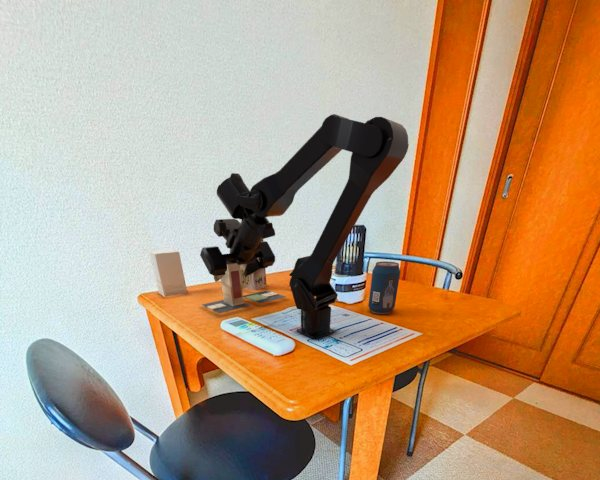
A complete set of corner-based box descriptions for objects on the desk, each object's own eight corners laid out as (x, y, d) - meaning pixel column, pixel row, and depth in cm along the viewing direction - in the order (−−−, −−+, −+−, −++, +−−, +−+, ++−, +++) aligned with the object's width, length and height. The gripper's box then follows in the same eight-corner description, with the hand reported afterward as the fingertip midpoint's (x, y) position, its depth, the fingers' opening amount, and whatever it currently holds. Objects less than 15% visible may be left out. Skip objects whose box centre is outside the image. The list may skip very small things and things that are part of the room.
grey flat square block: (287, 300, 94) (287, 295, 93) (260, 306, 89) (259, 302, 88) (267, 293, 100) (267, 289, 100) (241, 299, 95) (240, 295, 94)
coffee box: (267, 289, 105) (264, 235, 96) (255, 293, 101) (250, 237, 92) (247, 285, 109) (242, 233, 100) (234, 289, 105) (228, 235, 96)
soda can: (377, 305, 89) (383, 260, 82) (398, 310, 84) (406, 263, 78) (362, 310, 85) (367, 263, 78) (384, 316, 80) (392, 267, 74)
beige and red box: (244, 304, 88) (239, 262, 81) (233, 306, 86) (228, 263, 80) (234, 300, 91) (229, 259, 85) (223, 302, 89) (218, 261, 83)
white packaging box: (188, 294, 100) (179, 251, 93) (164, 298, 96) (153, 253, 89) (181, 290, 105) (172, 248, 98) (158, 293, 101) (147, 250, 94)
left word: (251, 308, 87) (250, 304, 86) (219, 316, 82) (218, 311, 81) (232, 301, 93) (232, 296, 93) (201, 308, 88) (201, 303, 87)
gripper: (266, 205, 77) (246, 248, 90) (196, 206, 67) (184, 256, 80) (287, 243, 76) (263, 282, 89) (219, 251, 66) (204, 293, 79)
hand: (230, 277), depth 84 cm, fingers open, 9 cm apart
